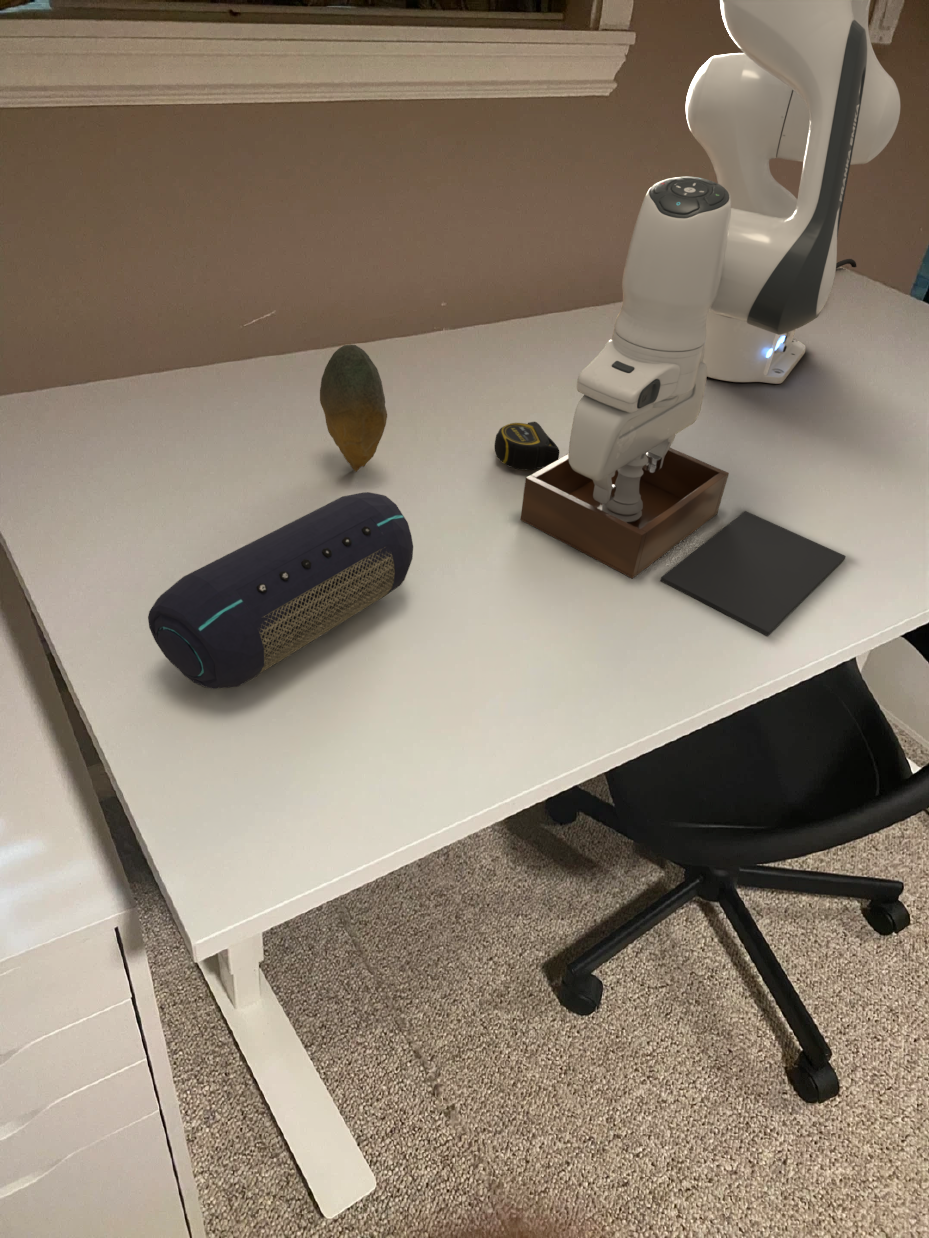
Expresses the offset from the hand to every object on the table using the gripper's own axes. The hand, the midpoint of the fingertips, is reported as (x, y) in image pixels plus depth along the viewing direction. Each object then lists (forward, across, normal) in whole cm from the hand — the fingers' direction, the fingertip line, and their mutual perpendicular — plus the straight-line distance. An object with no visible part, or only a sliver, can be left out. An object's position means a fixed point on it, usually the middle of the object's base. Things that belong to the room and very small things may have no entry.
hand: (627, 484), depth 98 cm
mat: (+4, -2, +15) cm, 16 cm away
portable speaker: (+5, +38, -10) cm, 39 cm away
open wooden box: (+4, 0, 0) cm, 4 cm away
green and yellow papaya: (+5, +15, -27) cm, 31 cm away
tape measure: (+4, -2, -15) cm, 16 cm away
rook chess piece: (+4, 0, 0) cm, 4 cm away
